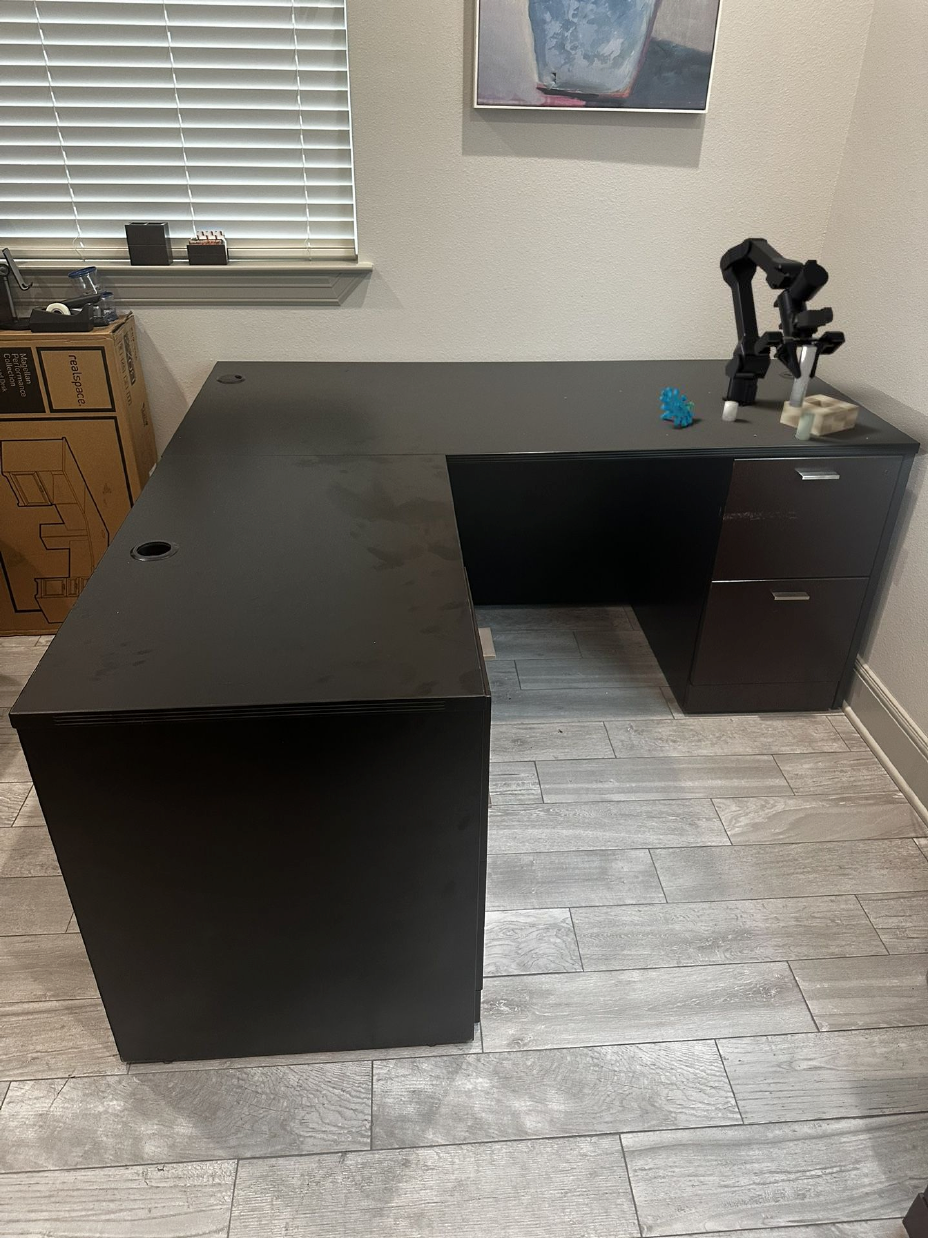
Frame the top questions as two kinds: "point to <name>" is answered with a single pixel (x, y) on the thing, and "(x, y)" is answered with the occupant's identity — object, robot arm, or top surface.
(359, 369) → the top surface
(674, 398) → the blue spiky toy
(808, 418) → the mid pin
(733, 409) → the short pin
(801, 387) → the long pin
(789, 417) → the hole block
